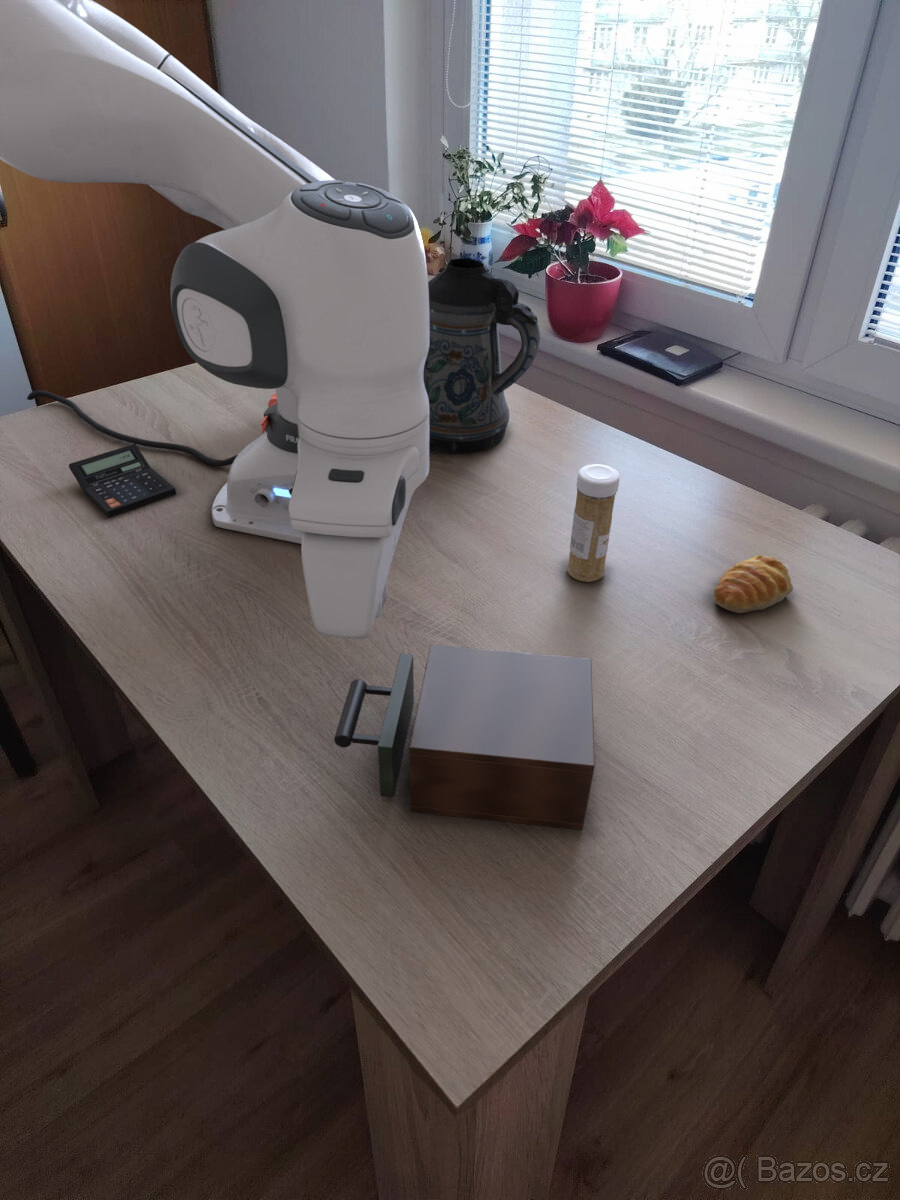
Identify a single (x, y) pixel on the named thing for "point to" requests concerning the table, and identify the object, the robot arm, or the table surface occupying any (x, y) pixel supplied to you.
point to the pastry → (753, 585)
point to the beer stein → (472, 356)
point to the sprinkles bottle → (592, 521)
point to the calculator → (120, 480)
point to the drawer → (393, 725)
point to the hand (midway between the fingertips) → (373, 606)
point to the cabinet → (503, 737)
